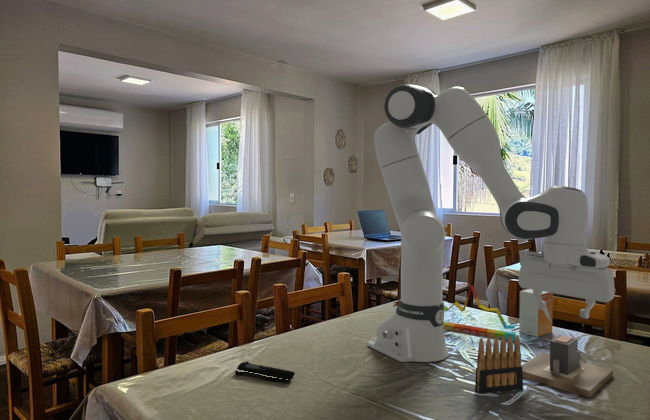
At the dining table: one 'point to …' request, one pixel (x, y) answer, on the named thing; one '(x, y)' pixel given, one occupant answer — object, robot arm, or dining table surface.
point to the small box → (535, 314)
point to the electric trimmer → (265, 372)
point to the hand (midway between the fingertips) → (562, 313)
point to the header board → (578, 382)
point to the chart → (479, 330)
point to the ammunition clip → (499, 366)
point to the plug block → (564, 353)
